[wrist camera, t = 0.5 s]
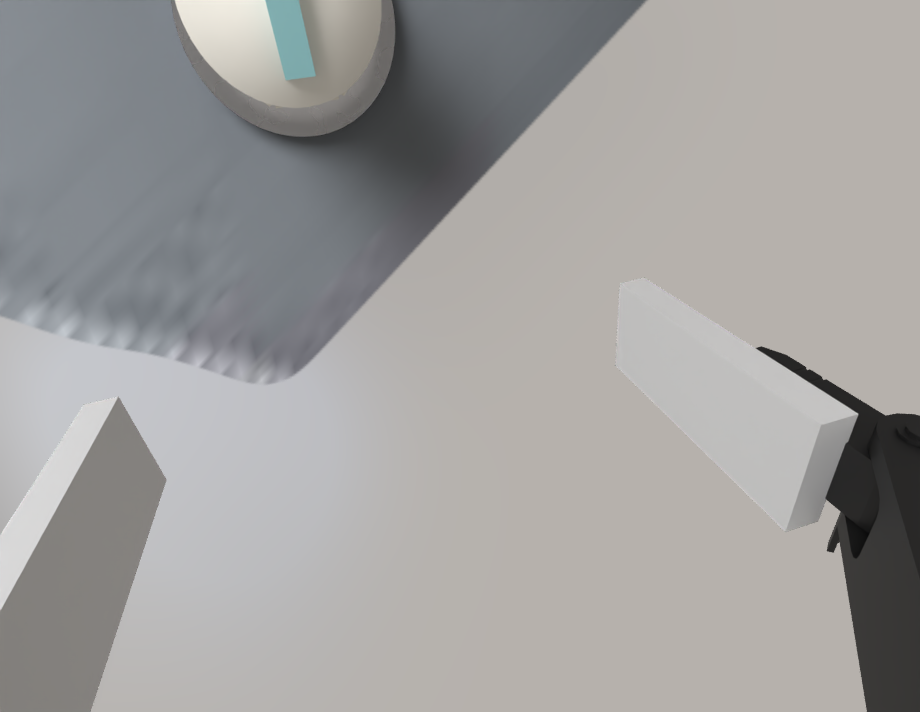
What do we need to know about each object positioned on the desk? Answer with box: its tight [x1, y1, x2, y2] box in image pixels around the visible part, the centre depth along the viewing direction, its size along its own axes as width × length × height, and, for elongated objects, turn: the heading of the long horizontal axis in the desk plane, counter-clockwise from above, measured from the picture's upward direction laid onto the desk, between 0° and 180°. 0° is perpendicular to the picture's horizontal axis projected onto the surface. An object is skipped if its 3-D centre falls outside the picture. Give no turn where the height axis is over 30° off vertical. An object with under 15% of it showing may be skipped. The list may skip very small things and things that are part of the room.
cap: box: [175, 0, 381, 108], centre depth 22 cm, size 8×8×6 cm
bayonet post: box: [171, 0, 395, 137], centre depth 26 cm, size 12×12×10 cm
